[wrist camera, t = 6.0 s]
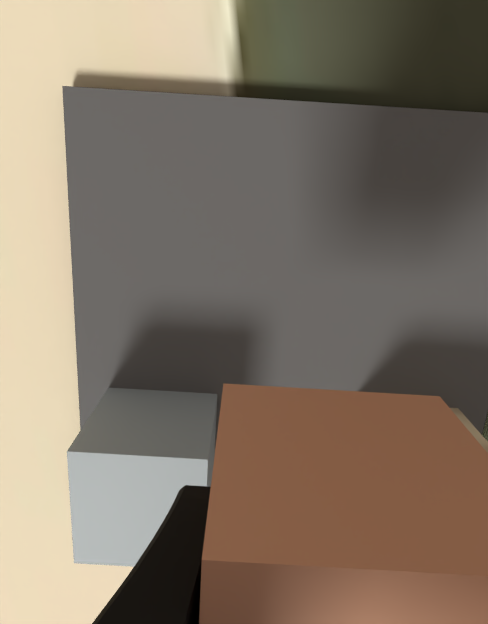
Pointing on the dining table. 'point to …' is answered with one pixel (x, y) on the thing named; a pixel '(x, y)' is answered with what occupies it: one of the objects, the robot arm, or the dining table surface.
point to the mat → (277, 246)
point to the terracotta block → (344, 511)
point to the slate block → (136, 468)
